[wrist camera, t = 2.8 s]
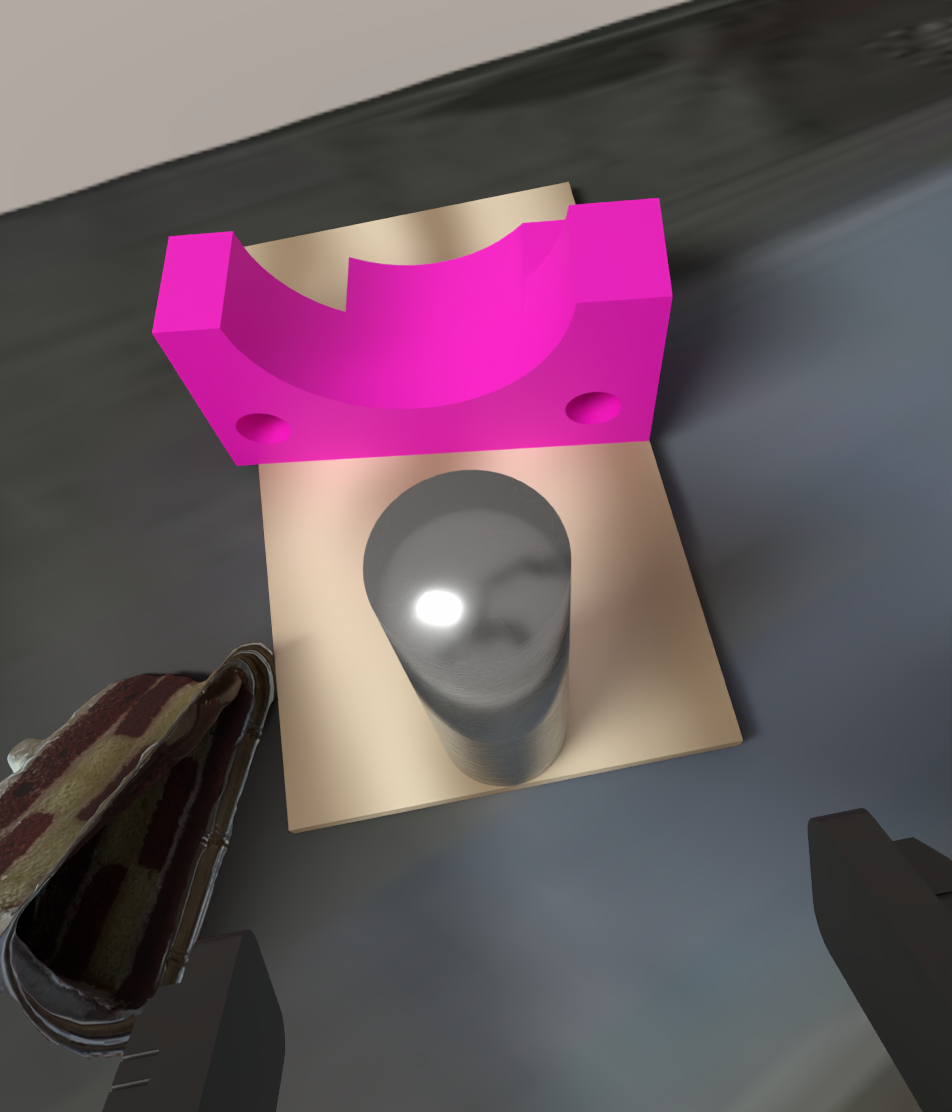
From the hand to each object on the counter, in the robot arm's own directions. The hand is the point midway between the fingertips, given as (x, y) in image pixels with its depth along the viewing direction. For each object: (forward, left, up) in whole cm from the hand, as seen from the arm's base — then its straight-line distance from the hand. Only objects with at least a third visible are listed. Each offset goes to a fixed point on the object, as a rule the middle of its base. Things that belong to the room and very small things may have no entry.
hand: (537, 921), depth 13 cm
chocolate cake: (+12, -6, -15) cm, 20 cm away
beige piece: (0, -17, -14) cm, 22 cm away
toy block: (0, -20, -14) cm, 24 cm away
